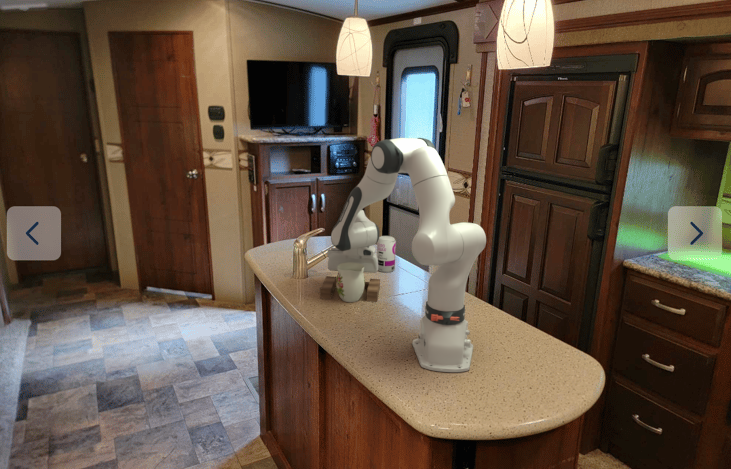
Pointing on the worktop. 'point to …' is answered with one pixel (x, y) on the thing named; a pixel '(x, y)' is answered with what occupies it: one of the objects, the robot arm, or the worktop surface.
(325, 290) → the holder
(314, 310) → the worktop surface
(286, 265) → the worktop surface
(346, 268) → the pitcher
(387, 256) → the supplement can
